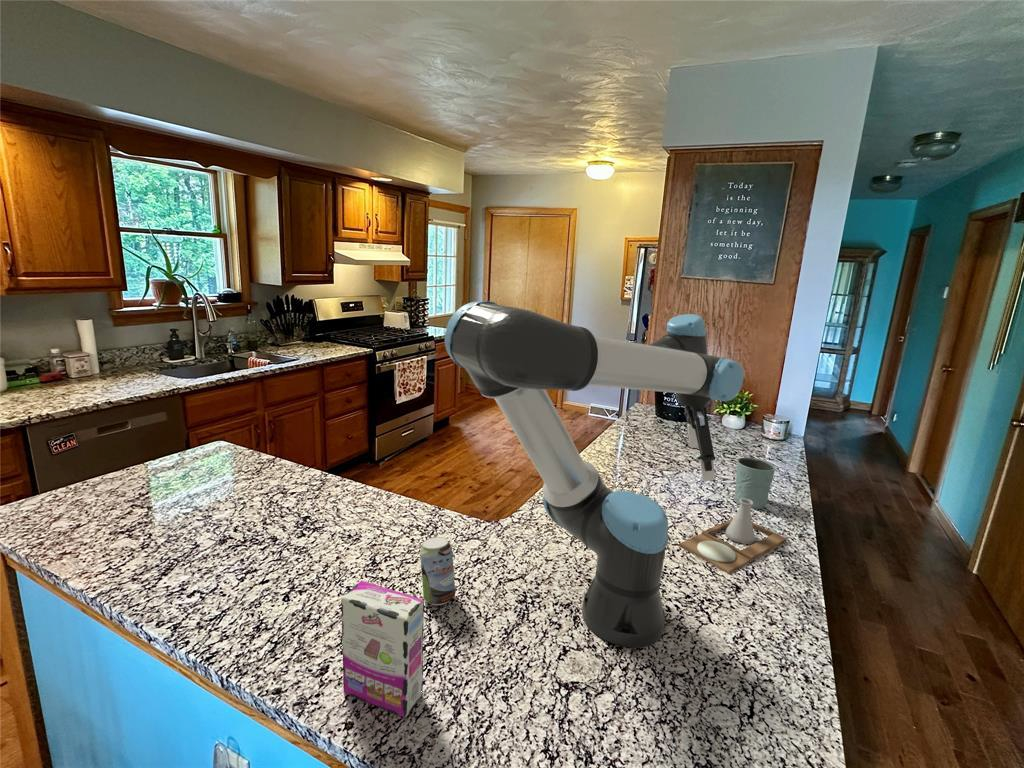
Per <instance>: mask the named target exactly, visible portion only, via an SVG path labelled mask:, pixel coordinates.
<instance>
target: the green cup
mask: <svg viewBox="0 0 1024 768" xmlns="http://www.w3.org/2000/svg"><path fill="white" fill-rule="evenodd" d="M735 472H736V473H735V475H736V478H735V482H734V483H735V486H734V493H733V495H734V497H733V499H734V501H735V502H736V503H737V504H739V505H740V502H739V501H740V498H745V499H749V500H751V501H752V502H753V505H752V506H751V509H757V510H758V509H764V508H766V506H767V503H768V500H769V494H770V493H769V492H770V491H771V485H772V483H773V479H774V475H775V472H776V466H775V465H774V464H773V463H771V462H770V461H767V460H763V459H760V458H756V457H745V456H744V457H740V458H737V460H736V470H735Z"/></svg>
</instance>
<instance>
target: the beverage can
mask: <svg viewBox="0 0 1024 768" xmlns="http://www.w3.org/2000/svg"><path fill="white" fill-rule="evenodd" d="M419 559H420V569H421V579H422V580H421V581H422V582H421V583H422V594H423V600H424V599H425V600H426V601H427V602H426V601H425V600H424V601H425V602H426V603H428V602H429V603H428V604H430V603H431V604H430V605H432V606H442V605H446V604H447V603H449V602H450V601H452V600H453V599H454V598H455V595H456V585H455V583H456V582H455V572H454V571H455V569H454V560H453V559H454V558H453V547H452V544H451V543H450V542H449V539H448V538H447V537H443V536H434V537H430V538H427V539H425V540H424V541H423V542H422V546H421V547H420V550H419Z"/></svg>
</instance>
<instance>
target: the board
mask: <svg viewBox="0 0 1024 768" xmlns="http://www.w3.org/2000/svg"><path fill="white" fill-rule="evenodd" d="M733 519H734V517H733V518H731V519H729V520H726V521H724V522H722V523H720V524H716V525H715V526H712V527H710V528H708V529H706V530H704V531H701V533H700V534H697V535H695V536H692V537H691V538H688V539H686V540H684V541H682V542H679V543H678V547H680V548H682V549H684V550H686V551H688V552H689V553H691V554H692V555H694V556H696V557H698V558H699V559H702V560H704V561H705V562H707V563H709V564H710V565H712V566H713V567H716V568H717V569H719V570H721V571H723V572H725V573H726V574H730V573H732V572H734V571H736V570H738V569H739V568H741V567H743V566H745V565H747V564H749V563H750V562H752V561H754V560H756V559H758V558H760V557H761V556H763V555H765V554H767V553H768V552H771V551H773V550H774V549H776V548H777V547H778V548H779V547H780V546H783V544H785V543H787V541H788V537H785V536H783V535H781V534H779V533H778V532H776V531H775V532H774V531H772V530H770V529H768V528H766V527H763V526H761V525H760V524H757V523H755V522H753V521H752V526H753V530H756V531H758V532H761V533H762V534H764V535H766V537H764V538H763V539H761V540H758V541H757V542H754V544H750V545H749V546H747V547H745V548H743V549H741V550H740V549H739V548H737V547H735V546H734V545H731V544H730V543H728V542H725V541H724V540H722V539H719V538H718V537H716V536H714V535H713V534H716V533H718V532H720V531H722V530H724V529H727V528H728V526H729V525H730V523H731V522H732V520H733Z"/></svg>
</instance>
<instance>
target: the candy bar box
mask: <svg viewBox="0 0 1024 768" xmlns="http://www.w3.org/2000/svg"><path fill="white" fill-rule="evenodd" d="M340 601H341V606H340V607H341V637H342V638H341V640H342V641H341V642H342V643H341V644H342V674H343V675H342V677H343V678H342V681H343V684H342V685H343V687H342V688H343V693H345V694H346V695H349V696H350V697H353V698H356V699H358V700H361V701H363V702H365V703H368V704H371V705H374V706H376V707H379V708H380V709H383V710H385V711H388V712H390V713H392V714H395V715H396V716H397V715H398V716H399V717H402V718H405V719H406V718H407V717H408V715H409V714H410V713H411V712H412V710H413V708H414V707H415V705H416V704H417V703H418V702H419V700H420V698H421V697H422V696H423V689H424V688H423V684H424V683H423V682H424V681H423V680H424V679H423V678H424V677H423V676H424V675H423V673H424V630H425V629H424V626H425V625H424V624H425V623H424V621H425V617H424V616H425V614H424V613H425V600H424V598H423V599H422V598H420V597H416V596H413V595H410V594H406V593H403V592H400V591H396V590H393V589H390V588H387V587H384V586H381V585H378V584H374V583H371V582H368V581H366V580H360V581H359V582H357V584H355V586H353V587H352V588H351V589H350V590H349V591H348V592H346V593H345V594H344V595H343V596H342V597H341V598H340ZM421 691H422V692H421Z"/></svg>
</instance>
